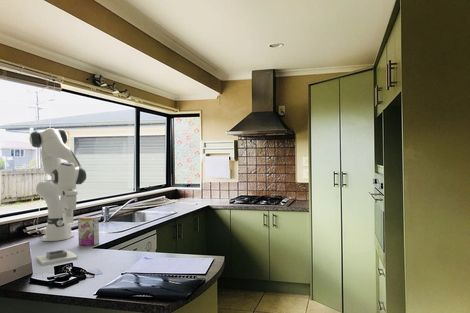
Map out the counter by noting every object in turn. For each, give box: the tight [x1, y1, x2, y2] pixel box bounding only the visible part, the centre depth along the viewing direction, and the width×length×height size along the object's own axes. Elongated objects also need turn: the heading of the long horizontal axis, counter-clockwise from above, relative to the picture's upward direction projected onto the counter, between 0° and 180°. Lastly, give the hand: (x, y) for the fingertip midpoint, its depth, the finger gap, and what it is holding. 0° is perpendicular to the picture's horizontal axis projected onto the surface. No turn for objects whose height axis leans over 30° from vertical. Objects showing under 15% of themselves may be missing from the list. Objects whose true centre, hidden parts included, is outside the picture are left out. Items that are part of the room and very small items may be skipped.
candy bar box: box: [77, 216, 100, 246], centre depth 212 cm, size 11×5×16 cm, turn 74°
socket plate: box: [35, 249, 78, 266], centre depth 182 cm, size 16×16×3 cm
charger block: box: [63, 208, 74, 224], centre depth 198 cm, size 4×4×8 cm
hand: (68, 215), depth 198 cm, fingers closed on charger block, 4 cm apart
